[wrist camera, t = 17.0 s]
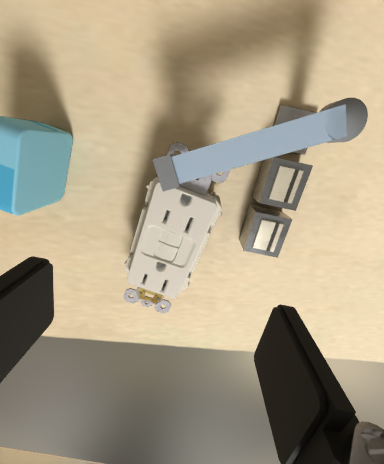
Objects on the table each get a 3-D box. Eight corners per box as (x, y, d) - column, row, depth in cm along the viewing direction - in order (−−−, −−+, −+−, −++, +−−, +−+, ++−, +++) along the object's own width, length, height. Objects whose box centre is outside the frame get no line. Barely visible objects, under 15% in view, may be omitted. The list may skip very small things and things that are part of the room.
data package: (48, 123, 37) (-19, 112, 26) (74, 133, 37) (20, 127, 26) (39, 190, 41) (-22, 207, 30) (63, 199, 41) (12, 218, 30)
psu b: (249, 204, 40) (256, 212, 35) (281, 211, 41) (293, 220, 35) (239, 239, 43) (244, 251, 38) (269, 245, 43) (278, 258, 38)
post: (279, 106, 35) (315, 87, 24) (316, 114, 35) (368, 99, 24) (267, 146, 37) (294, 145, 26) (302, 154, 37) (343, 156, 26)
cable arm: (350, 97, 24) (369, 91, 21) (352, 136, 25) (369, 135, 22) (156, 156, 27) (151, 157, 24) (166, 189, 28) (163, 193, 25)
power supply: (264, 155, 37) (274, 157, 32) (298, 163, 38) (314, 165, 32) (252, 196, 40) (259, 203, 35) (284, 203, 40) (296, 211, 35)
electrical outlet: (236, 161, 37) (245, 170, 28) (180, 287, 49) (174, 323, 40) (169, 134, 36) (157, 135, 27) (128, 270, 48) (110, 303, 39)
